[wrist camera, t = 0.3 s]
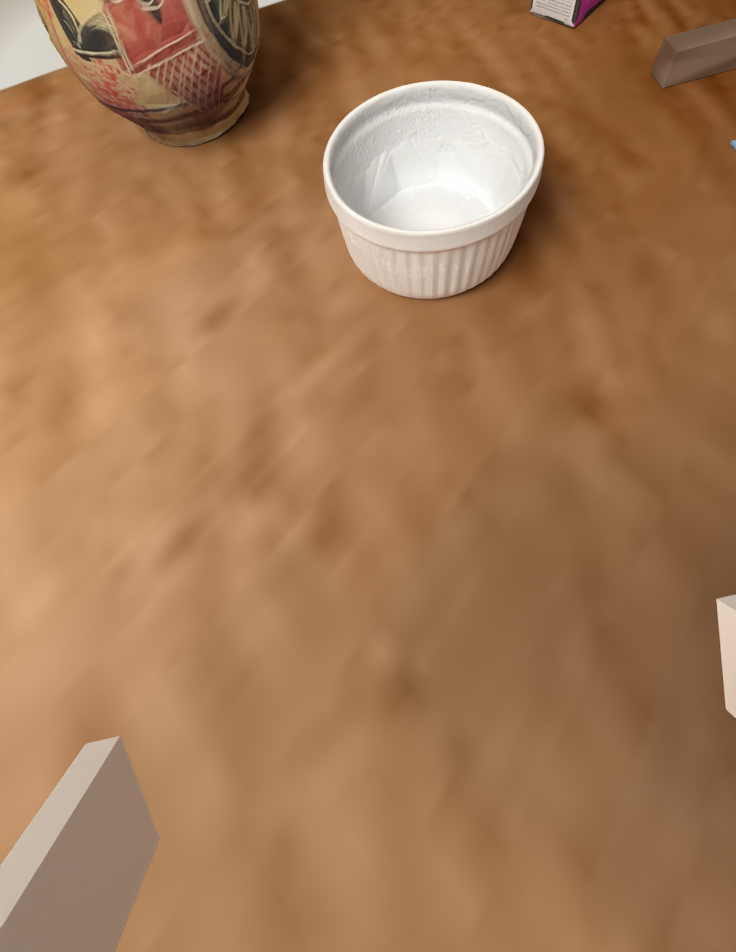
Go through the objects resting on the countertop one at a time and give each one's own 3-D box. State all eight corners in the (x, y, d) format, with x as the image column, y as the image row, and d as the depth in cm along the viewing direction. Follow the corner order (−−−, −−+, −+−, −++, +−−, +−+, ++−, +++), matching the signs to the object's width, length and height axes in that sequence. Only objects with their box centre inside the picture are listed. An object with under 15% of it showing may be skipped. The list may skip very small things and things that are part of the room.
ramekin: (426, 351, 33) (428, 271, 26) (301, 247, 37) (277, 158, 31) (562, 238, 35) (594, 140, 29) (430, 153, 40) (432, 52, 33)
